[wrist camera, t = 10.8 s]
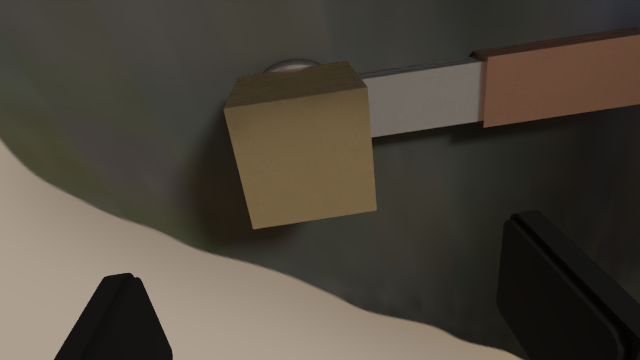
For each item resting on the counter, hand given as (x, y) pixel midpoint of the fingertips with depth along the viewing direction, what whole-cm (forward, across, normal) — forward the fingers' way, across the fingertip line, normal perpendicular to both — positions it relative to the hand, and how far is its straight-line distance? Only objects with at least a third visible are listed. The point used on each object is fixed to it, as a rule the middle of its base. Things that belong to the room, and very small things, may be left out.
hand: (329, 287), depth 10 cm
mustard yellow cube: (+14, 0, 0) cm, 14 cm away
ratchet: (+16, -8, 0) cm, 18 cm away
